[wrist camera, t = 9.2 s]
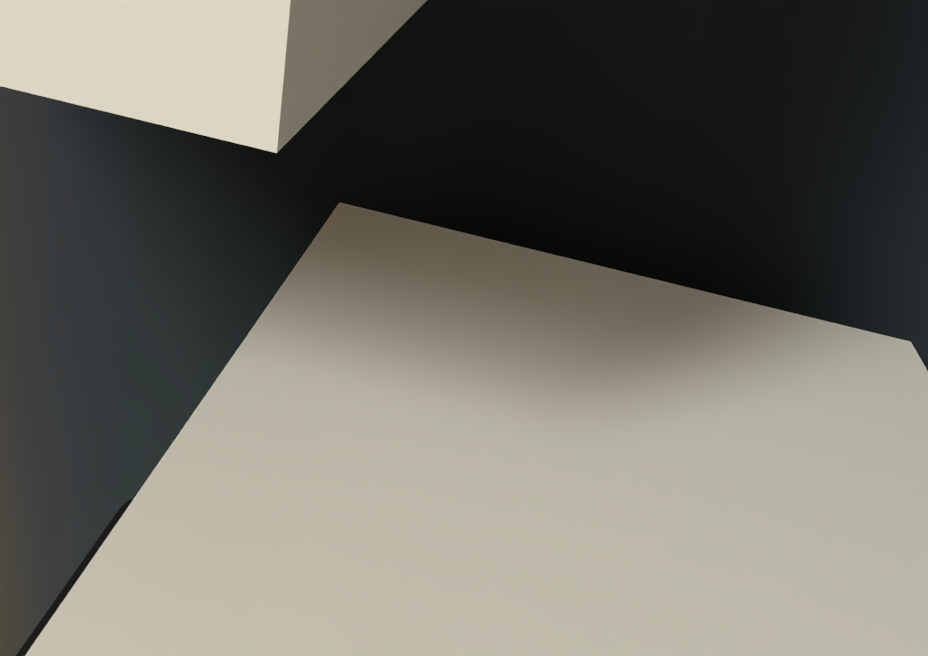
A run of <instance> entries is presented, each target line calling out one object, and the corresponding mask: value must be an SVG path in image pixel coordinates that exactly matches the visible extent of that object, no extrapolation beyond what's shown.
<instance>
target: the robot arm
mask: <svg viewBox="0 0 928 656" xmlns="http://www.w3.org/2000/svg"><path fill="white" fill-rule="evenodd" d="M132 501H133V499H131V500H129V501H128V502H126V503H125V504H124V505H123V506H122V507H121V508H120V509H119V511H118V512H117V513H116V514H115V516H114V517H113V519H112V520H111V522H110V523H109V524H108V526H107V527H106V529H105V530H104V531H103V533H102V534H101V536H100V537H99V539H98V540H97V541H96V543H95V544H94V546H93V547H92V549H91V550H90V551H89V553H88V554H87V556H86V557H85V558H84V560H83V561H82V563H81V564H80V566H79V567H78V568H77V570H76V571H75V573H74V574H73V576H72V577H71V578H70V580H69V581H68V583H67V584H66V585H65V587H64V588H63V590H62V591H61V593H60V594H59V595H58V597H57V598H56V600H55V601H54V603H53V604H52V605H51V607H50V608H49V610H48V611H47V613H46V614H45V615H44V617H43V618H42V620H41V621H40V622H39V624H38V625H37V627H36V628H35V630H34V631H33V632H32V634H31V635H30V637H29V638H28V640H27V641H26V642H25V644H24V645H23V647H22V648H21V649H20V651H19V652H18V654H17V655H16V656H25V655H26V653H27V652H28V651H29V649H30V648H31V646H32V645H33V643H34V642H35V640H36V639H37V638H38V636H39V635H40V633H41V632H42V630H43V629H44V627H45V626H46V625H47V623H48V622H49V620H50V619H51V617H52V616H53V615H54V613H55V612H56V610H57V609H58V607H59V606H60V604H61V603H62V602H63V600H64V599H65V597H66V596H67V594H68V593H69V591H70V590H71V589H72V587H73V586H74V584H75V583H76V581H77V580H78V578H79V577H80V576H81V574H82V573H83V571H84V570H85V568H86V567H87V566H88V564H89V563H90V561H91V560H92V558H93V557H94V555H95V554H96V553H97V551H98V550H99V548H100V547H101V545H102V544H103V542H104V541H105V540H106V538H107V537H108V535H109V534H110V532H111V531H112V529H113V528H114V527H115V525H116V524H117V522H118V521H119V519H120V518H121V516H122V515H123V514H124V512H125V511H126V509H127V508H128V506H129V505H130V504H131V502H132Z"/></svg>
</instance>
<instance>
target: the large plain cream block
mask: <svg viewBox="0 0 928 656" xmlns="http://www.w3.org/2000/svg"><path fill="white" fill-rule="evenodd" d="M426 1H427V0H0V86H2V87H7V88H11V89H15V90H19V91H23V92H27V93H31V94H35V95H39V96H44V97H48V98H52V99H56V100H60V101H64V102H68V103H72V104H76V105H81V106H85V107H89V108H93V109H97V110H101V111H105V112H109V113H113V114H118V115H122V116H126V117H130V118H134V119H138V120H142V121H146V122H150V123H155V124H159V125H163V126H167V127H171V128H175V129H179V130H183V131H188V132H192V133H196V134H200V135H204V136H208V137H212V138H216V139H220V140H225V141H229V142H233V143H237V144H241V145H245V146H249V147H253V148H257V149H262V150H266V151H270V152H274V153H278V152H279V151H280V149H281V148H282V147H283V146H284V145H285V144H286V143H287V142H288V141H289V140H290V139H291V138H292V137H293V136H294V135H295V134H296V133H297V132H298V131H299V130H300V129H301V128H302V127H303V126H304V125H305V124H306V123H307V122H308V121H309V120H310V119H311V118H312V117H313V116H314V115H315V114H316V113H317V112H318V111H319V110H320V109H321V108H322V107H323V106H324V105H325V104H326V103H327V102H328V101H329V100H330V99H331V98H332V97H333V96H334V95H335V94H336V93H337V91H338V90H339V89H340V88H341V87H342V86H343V85H344V84H345V83H346V82H347V81H348V80H349V79H350V78H351V77H352V76H353V75H354V74H355V73H356V72H357V71H358V70H359V69H360V68H361V67H362V66H363V65H364V64H365V63H366V62H367V61H368V60H369V59H370V58H371V57H372V56H373V55H374V54H375V53H376V52H377V51H378V50H379V49H380V48H381V47H382V46H383V45H384V44H385V43H386V42H387V41H388V40H389V39H390V38H391V37H392V36H393V34H394V33H395V32H396V31H397V30H398V29H399V28H400V27H401V26H402V25H403V24H404V23H405V22H406V21H407V20H408V19H409V18H410V17H411V16H412V15H413V14H414V13H415V12H416V11H417V10H418V9H419V8H420V7H421V6H422V5H423V4H424V3H425V2H426Z"/></svg>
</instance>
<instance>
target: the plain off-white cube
mask: <svg viewBox="0 0 928 656" xmlns="http://www.w3.org/2000/svg"><path fill="white" fill-rule="evenodd" d="M25 656H928V371H927V369H926V367H925V366H924V364H923V362H922V360H921V359H920V357H919V355H918V353H917V352H916V350H915V348H914V347H913V345H912V343H911V342H910V341H906V340H902V339H898V338H893V337H889V336H885V335H881V334H877V333H873V332H869V331H865V330H861V329H857V328H852V327H848V326H844V325H840V324H836V323H832V322H828V321H824V320H820V319H816V318H811V317H807V316H803V315H799V314H795V313H791V312H787V311H783V310H779V309H775V308H771V307H766V306H762V305H758V304H754V303H750V302H746V301H742V300H738V299H734V298H730V297H725V296H721V295H717V294H713V293H709V292H705V291H701V290H697V289H693V288H689V287H684V286H680V285H676V284H672V283H668V282H664V281H660V280H656V279H652V278H648V277H644V276H639V275H635V274H631V273H627V272H623V271H619V270H615V269H611V268H607V267H603V266H598V265H594V264H590V263H586V262H582V261H578V260H574V259H570V258H566V257H562V256H557V255H553V254H549V253H545V252H541V251H537V250H533V249H529V248H525V247H521V246H517V245H512V244H508V243H504V242H500V241H496V240H492V239H488V238H484V237H480V236H476V235H471V234H467V233H463V232H459V231H455V230H451V229H447V228H443V227H439V226H435V225H430V224H426V223H422V222H418V221H414V220H410V219H406V218H402V217H398V216H394V215H389V214H385V213H381V212H377V211H373V210H369V209H365V208H361V207H357V206H353V205H349V204H344V203H340V202H339V204H338V205H337V207H336V208H335V209H334V211H333V212H332V214H331V215H330V217H329V218H328V220H327V221H326V222H325V224H324V225H323V227H322V228H321V230H320V231H319V233H318V234H317V235H316V237H315V238H314V240H313V241H312V243H311V244H310V245H309V247H308V248H307V250H306V251H305V253H304V254H303V256H302V257H301V258H300V260H299V261H298V263H297V264H296V266H295V267H294V269H293V270H292V271H291V273H290V274H289V276H288V277H287V279H286V280H285V282H284V283H283V284H282V286H281V287H280V289H279V290H278V292H277V293H276V294H275V296H274V297H273V299H272V300H271V302H270V303H269V305H268V306H267V307H266V309H265V310H264V312H263V313H262V315H261V316H260V318H259V319H258V320H257V322H256V323H255V325H254V326H253V328H252V329H251V331H250V332H249V333H248V335H247V336H246V338H245V339H244V341H243V342H242V344H241V345H240V346H239V348H238V349H237V351H236V352H235V354H234V355H233V356H232V358H231V359H230V361H229V362H228V364H227V365H226V367H225V368H224V369H223V371H222V372H221V374H220V375H219V377H218V378H217V380H216V381H215V382H214V384H213V385H212V387H211V388H210V390H209V391H208V393H207V394H206V395H205V397H204V398H203V400H202V401H201V403H200V404H199V405H198V407H197V408H196V410H195V411H194V413H193V414H192V416H191V417H190V418H189V420H188V421H187V423H186V424H185V426H184V427H183V429H182V430H181V431H180V433H179V434H178V436H177V437H176V439H175V440H174V442H173V443H172V444H171V446H170V447H169V449H168V450H167V452H166V453H165V455H164V456H163V457H162V459H161V460H160V462H159V463H158V465H157V466H156V467H155V469H154V470H153V472H152V473H151V475H150V476H149V478H148V479H147V480H146V482H145V483H144V485H143V486H142V488H141V489H140V491H139V492H138V493H137V495H136V496H135V498H134V499H133V501H132V502H131V504H130V505H129V506H128V508H127V509H126V511H125V512H124V514H123V515H122V516H121V518H120V519H119V521H118V522H117V524H116V525H115V527H114V528H113V529H112V531H111V532H110V534H109V535H108V537H107V538H106V540H105V541H104V542H103V544H102V545H101V547H100V548H99V550H98V551H97V553H96V554H95V555H94V557H93V558H92V560H91V561H90V563H89V564H88V566H87V567H86V568H85V570H84V571H83V573H82V574H81V576H80V577H79V578H78V580H77V581H76V583H75V584H74V586H73V587H72V589H71V590H70V591H69V593H68V594H67V596H66V597H65V599H64V600H63V602H62V603H61V604H60V606H59V607H58V609H57V610H56V612H55V613H54V615H53V616H52V617H51V619H50V620H49V622H48V623H47V625H46V626H45V627H44V629H43V630H42V632H41V633H40V635H39V636H38V638H37V639H36V640H35V642H34V643H33V645H32V646H31V648H30V649H29V651H28V652H27V653H26V655H25Z"/></svg>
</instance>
